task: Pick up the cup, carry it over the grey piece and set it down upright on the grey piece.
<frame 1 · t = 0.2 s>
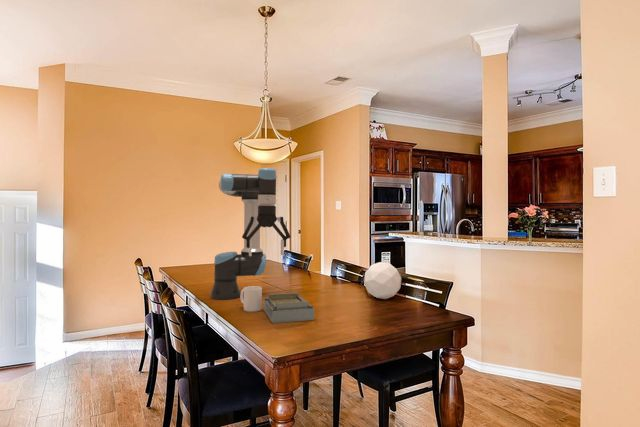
hand: (266, 255, 166), 27 cm above the table, fingers open, 13 cm apart
grey piece: (287, 314, 175), on the table
geometric sphere: (382, 298, 210), on the table
cup: (249, 309, 184), on the table
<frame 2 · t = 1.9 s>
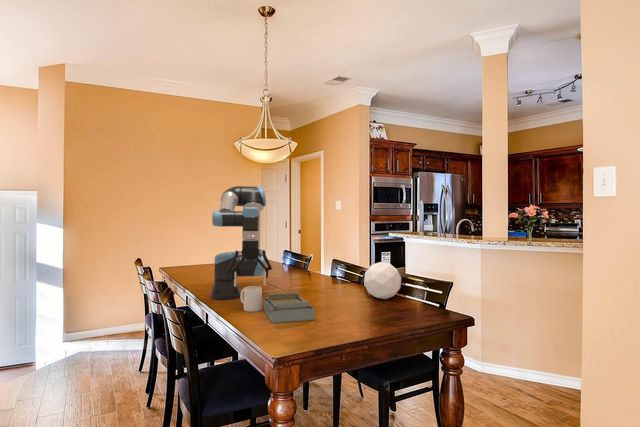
hand: (249, 285, 184), 11 cm above the table, fingers open, 13 cm apart
nothing on the table moved.
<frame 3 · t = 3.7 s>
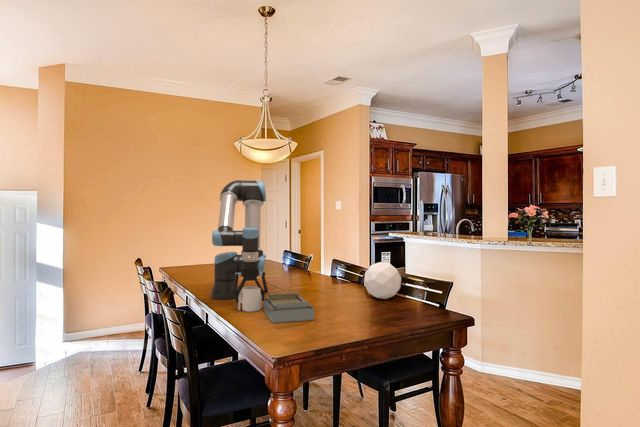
hand: (249, 308, 184), 0 cm above the table, fingers open, 9 cm apart
cup: (248, 309, 184), on the table, touching gripper
everything else where it was.
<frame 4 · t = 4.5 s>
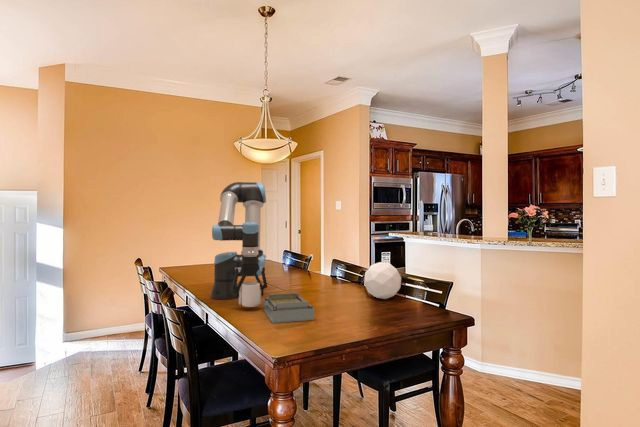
hand: (249, 303, 185), 2 cm above the table, fingers closed on cup, 9 cm apart
cup: (247, 304, 185), point 2 cm above the table, touching gripper
everything else where it was.
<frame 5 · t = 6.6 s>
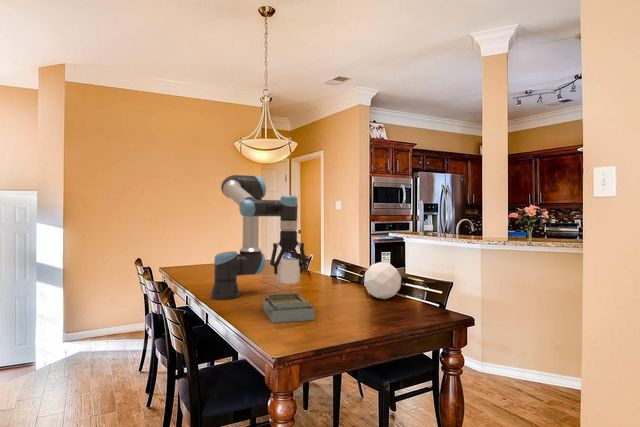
hand: (288, 281, 175), 15 cm above the table, fingers closed on cup, 9 cm apart
cup: (286, 282, 175), point 15 cm above the table, touching gripper
everything else where it was.
when the fingers open (7 cm above the table, at t = 8.8 s): cup drops 1 cm, resting on grey piece.
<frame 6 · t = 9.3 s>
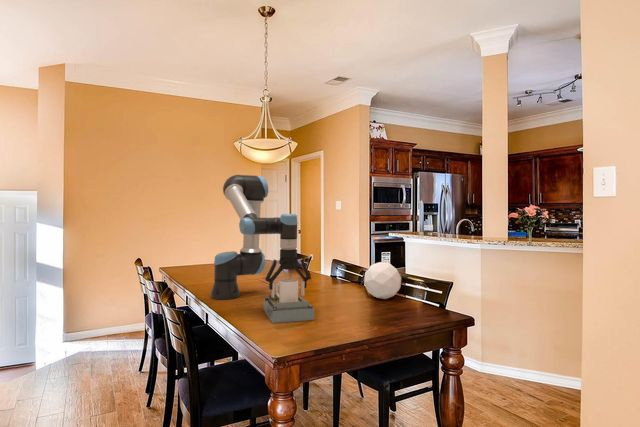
hand: (288, 296, 175), 8 cm above the table, fingers open, 13 cm apart
cup: (285, 303, 175), point 5 cm above the table, touching grey piece
everything else where it was.
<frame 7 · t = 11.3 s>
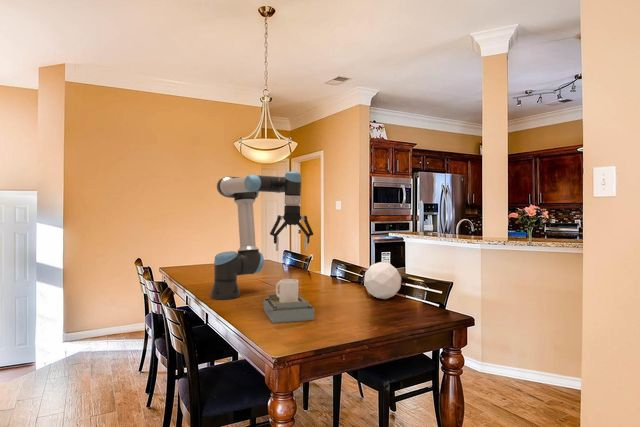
hand: (291, 250, 184), 28 cm above the table, fingers open, 13 cm apart
nothing on the table moved.
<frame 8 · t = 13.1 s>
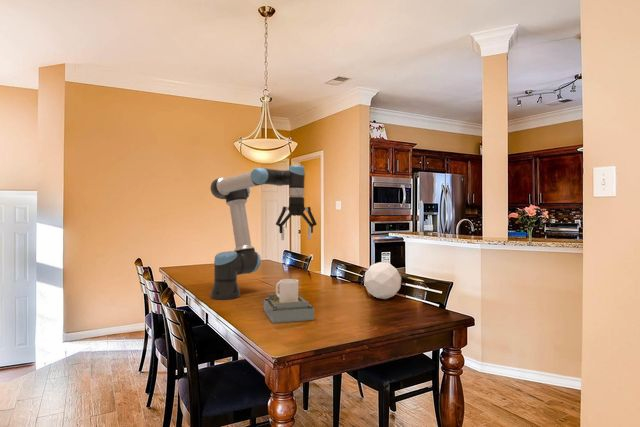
hand: (296, 239, 194), 32 cm above the table, fingers open, 13 cm apart
nothing on the table moved.
at the end: cup inside the target area on the grey piece (1.0 cm from its centre), point 5.0 cm above the grey piece's base; cup tilted 0°; the gripper is holding nothing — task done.
